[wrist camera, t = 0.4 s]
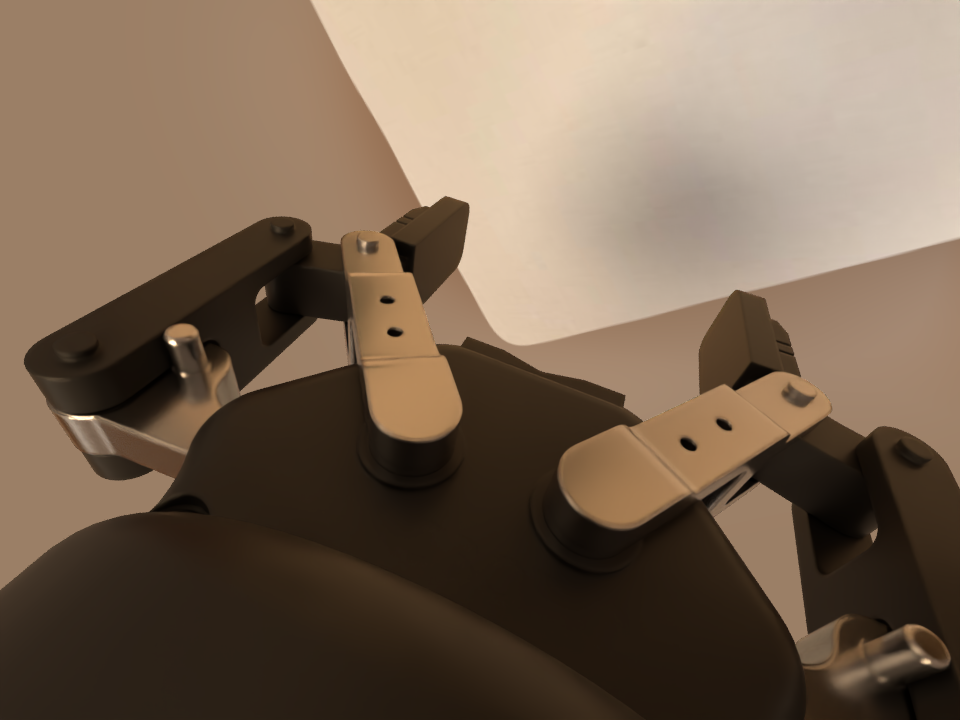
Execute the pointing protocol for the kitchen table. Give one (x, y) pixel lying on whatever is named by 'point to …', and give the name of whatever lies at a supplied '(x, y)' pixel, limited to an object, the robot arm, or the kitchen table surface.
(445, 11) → the kitchen table surface
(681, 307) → the kitchen table surface
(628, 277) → the kitchen table surface
